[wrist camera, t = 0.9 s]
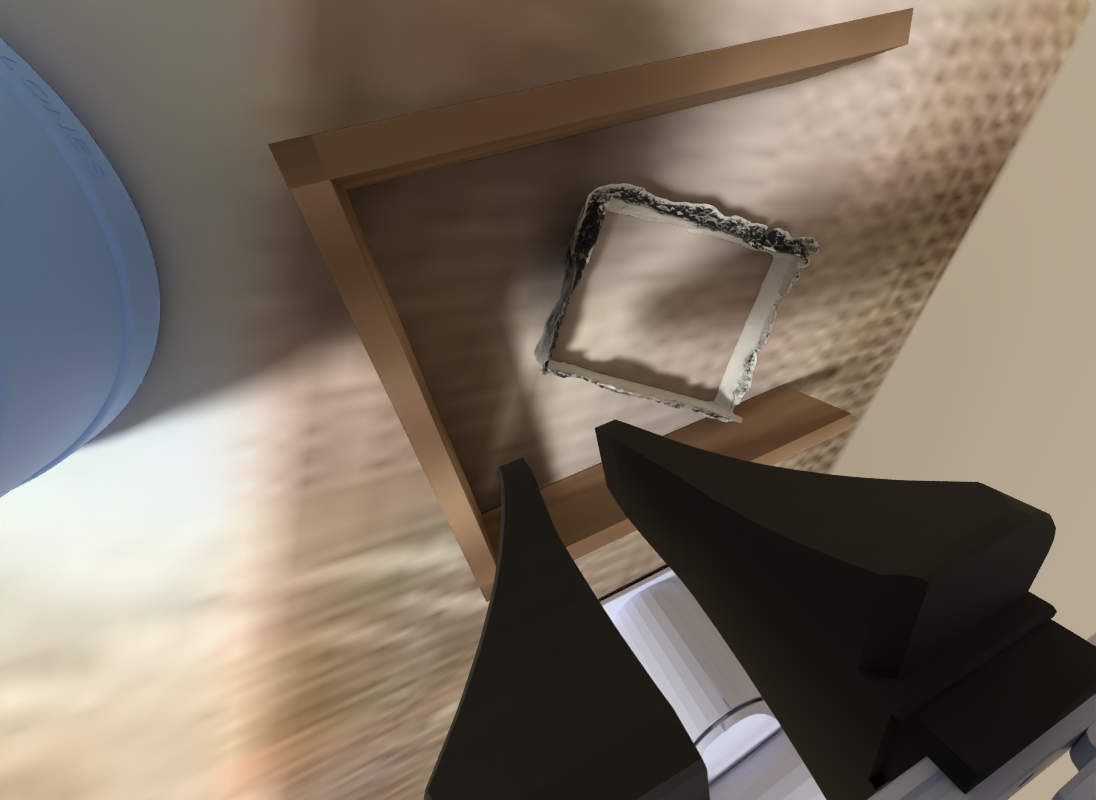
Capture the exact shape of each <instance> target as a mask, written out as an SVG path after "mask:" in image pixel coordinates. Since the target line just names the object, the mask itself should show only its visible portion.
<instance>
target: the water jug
mask: <svg viewBox="0 0 1096 800" xmlns="http://www.w3.org/2000/svg"><path fill="white" fill-rule="evenodd" d="M159 324H160V291H159V283H158V276H157V271H156V266H155V261H154V257H153V254H152V250H151V247H150V244H149V241H148V238H147V235H146V232H145V229H144V227H143V224H142V222H141V220H140V217H139V215H138V213H137V211H136V208H135V206H134V204H133V202H132V200H131V198H130V196H129V194H128V193H127V191H126V189H125V187H124V185H123V183H122V182H121V180H120V178H119V177H118V175H117V173H116V172H115V170H114V168H113V167H112V165H111V164H110V162H109V161H108V159H107V158H106V156H105V155H104V153H103V152H102V150H101V149H100V147H99V146H98V145H97V143H96V142H95V140H94V139H93V138H92V136H91V135H90V134H89V132H88V131H87V130H86V129H85V127H84V126H83V125H82V123H81V122H80V121H79V120H78V118H77V117H76V116H75V115H74V114H73V112H72V111H71V110H70V109H69V108H68V106H67V105H66V104H65V103H64V102H63V101H62V100H61V98H60V97H59V96H58V95H57V94H56V93H55V92H54V91H53V90H52V88H51V87H50V86H49V85H48V84H47V83H46V82H45V81H44V80H43V79H42V78H41V77H40V76H39V75H38V74H37V73H36V72H35V71H34V70H33V69H32V68H31V67H30V66H29V65H28V64H27V63H26V62H25V61H24V60H23V59H22V58H21V57H20V56H19V55H18V54H17V53H16V52H15V51H14V50H13V49H12V48H11V47H10V46H9V45H8V44H7V43H5V42H4V41H3V40H2V39H1V38H0V498H1V497H2V496H3V495H5V494H6V493H8V492H9V491H10V490H12V489H14V488H16V487H18V486H20V485H22V484H24V483H26V482H28V481H30V480H32V479H34V478H36V477H38V476H39V475H41V474H43V473H44V472H46V471H48V470H49V469H51V468H52V467H54V466H55V465H57V464H58V463H60V462H61V461H62V460H64V459H65V458H66V457H68V456H69V455H71V454H72V453H73V452H75V451H76V450H77V449H79V448H80V447H82V446H83V445H84V444H86V443H87V442H88V441H90V440H91V439H92V438H94V437H95V436H96V435H97V434H99V433H100V432H101V431H102V430H103V429H105V428H106V427H107V426H108V425H109V424H110V423H111V422H112V421H113V420H114V419H115V418H116V417H117V416H118V415H119V414H120V412H121V411H122V410H123V409H124V408H125V407H126V405H127V404H128V403H129V401H130V400H131V399H132V397H133V396H134V394H135V393H136V391H137V390H138V388H139V386H140V385H141V383H142V381H143V379H144V377H145V375H146V373H147V371H148V368H149V366H150V363H151V360H152V357H153V354H154V351H155V347H156V343H157V338H158V332H159Z"/></svg>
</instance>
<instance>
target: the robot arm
mask: <svg viewBox="0 0 1096 800" xmlns="http://www.w3.org/2000/svg"><path fill="white" fill-rule="evenodd" d="M595 432H596V436H597V441H598V446H599V451H600V456H601V460H602V465H603V470H604V475H605V480H606V485H607V488H608V489H609V491H610V492H611V494H612V495H613V497H614V499H615V500H616V502H617V503H618V505H619V506H620V508H621V509H622V511H623V512H624V514H625V515H626V517H627V518H628V519H629V520H630V521H631V523H632V524H633V525H634V526H635V527H636V529H637V530H638V531H639V532H640V533H641V535H642V536H643V537H644V538H645V539H646V540H647V542H648V543H649V544H650V545H651V546H652V547H653V549H654V550H655V551H656V552H657V553H658V554H659V556H660V557H661V558H662V559H663V560H664V561H665V563H666V564H667V565H668V566H669V567H667V568H665V569H663V570H661V571H660V572H658V573H656V574H654V575H652V576H650V577H648V578H646V579H644V580H642V581H640V582H638V583H636V584H634V585H632V586H630V587H628V588H626V589H624V590H622V591H620V592H618V593H616V594H614V595H612V596H610V597H608V598H606V599H604V600H602V601H600V602H599V600H598V599H597V597H596V596H595V594H594V593H593V591H592V589H591V588H590V586H589V585H588V583H587V581H586V580H585V578H584V577H583V575H582V573H581V572H580V570H579V569H578V567H577V565H576V564H575V562H574V560H573V559H572V557H571V555H570V554H569V552H568V550H567V549H566V547H565V545H564V544H563V542H562V540H561V539H560V537H559V535H558V533H557V531H556V529H555V527H554V525H553V522H552V520H551V517H550V515H549V512H548V510H547V508H546V505H545V503H544V500H543V498H542V495H541V493H540V490H539V488H538V485H537V483H536V480H535V478H534V475H533V473H532V471H531V469H530V468H529V466H528V465H527V463H526V462H525V461H524V459H523V458H520V459H518V460H515V461H513V462H511V463H508V464H506V465H503V466H501V467H499V469H498V471H497V474H498V477H499V482H500V490H501V529H500V540H499V549H498V558H497V565H496V572H495V578H494V583H493V588H492V593H491V598H490V603H489V607H488V611H487V615H486V619H485V623H484V627H483V631H482V635H481V638H480V642H479V645H478V649H477V652H476V655H475V658H474V661H473V664H472V667H471V670H470V673H469V676H468V679H467V682H466V685H465V689H464V692H463V695H462V698H461V701H460V703H459V706H458V709H457V712H456V714H455V717H454V720H453V722H452V725H451V727H450V730H449V732H448V735H447V737H446V740H445V742H444V745H443V747H442V750H441V752H440V755H439V757H438V760H437V762H436V765H435V767H434V770H433V772H432V775H431V777H430V780H429V782H428V784H427V787H426V790H425V795H424V800H1008V799H1009V798H1010V797H1011V796H1013V795H1014V794H1015V793H1016V792H1018V791H1019V790H1020V789H1021V788H1023V787H1024V786H1025V785H1026V784H1028V783H1029V782H1030V781H1031V780H1032V779H1034V778H1035V777H1036V776H1038V775H1039V774H1040V773H1041V772H1043V771H1044V770H1045V769H1046V768H1047V767H1049V766H1050V765H1051V764H1052V763H1054V762H1055V761H1056V760H1057V759H1059V758H1060V757H1061V756H1062V755H1063V754H1065V753H1066V752H1067V751H1069V750H1070V749H1071V750H1070V752H1069V753H1070V757H1071V760H1072V762H1073V763H1074V765H1075V766H1076V768H1077V769H1078V771H1079V772H1078V774H1076V775H1075V776H1074V777H1073V778H1072V779H1071V780H1070V781H1068V782H1067V783H1066V784H1065V785H1064V786H1063V787H1062V788H1061V789H1060V790H1059V791H1058V792H1057V793H1056V794H1055V796H1054V797H1053V798H1052V800H1096V633H1095V634H1094V635H1093V636H1091V637H1090V638H1088V639H1087V640H1084V639H1083V638H1081V637H1080V636H1078V635H1076V634H1074V633H1073V632H1071V631H1070V630H1068V629H1066V628H1065V627H1063V626H1061V625H1060V624H1058V623H1056V622H1055V621H1053V620H1051V618H1052V617H1054V615H1055V614H1056V612H1057V611H1056V609H1055V608H1054V607H1053V606H1052V605H1051V604H1049V603H1048V602H1046V601H1044V600H1042V599H1041V598H1039V597H1037V596H1036V595H1034V594H1032V593H1030V592H1029V591H1028V590H1029V588H1030V587H1031V585H1032V583H1033V581H1034V579H1035V577H1036V575H1037V573H1038V571H1039V569H1040V567H1041V566H1042V564H1043V562H1044V560H1045V558H1046V556H1047V554H1048V552H1049V550H1050V547H1051V545H1052V543H1053V540H1054V536H1055V530H1056V527H1055V525H1054V522H1053V520H1052V518H1051V516H1050V514H1048V513H1046V512H1043V511H1041V510H1039V509H1037V508H1035V507H1033V506H1031V505H1028V504H1026V503H1024V502H1022V501H1020V500H1017V499H1015V498H1013V497H1011V496H1009V495H1006V494H1004V493H1002V492H1000V491H998V490H995V489H993V488H991V487H989V486H986V485H984V484H982V483H979V482H951V481H950V482H949V481H907V480H905V481H904V480H888V479H874V478H861V477H849V476H839V475H830V474H822V473H815V472H807V471H800V470H793V469H787V468H781V467H775V466H770V465H765V464H760V463H755V462H750V461H745V460H741V459H737V458H732V457H728V456H725V455H721V454H717V453H714V452H710V451H707V450H703V449H700V448H696V447H693V446H690V445H687V444H684V443H681V442H678V441H675V440H672V439H669V438H666V437H663V436H660V435H657V434H654V433H652V432H649V431H646V430H643V429H641V428H638V427H635V426H632V425H630V424H627V423H624V422H621V421H618V420H613V421H611V422H608V423H606V424H604V425H601V426H599V427H596V428H595Z"/></svg>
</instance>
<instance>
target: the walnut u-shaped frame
mask: <svg viewBox="0 0 1096 800" xmlns="http://www.w3.org/2000/svg"><path fill="white" fill-rule="evenodd" d="M912 14H913V8H910V9H905V10H901V11H896V12H891V13H886V14H882V15H877V16H872V17H867V18H863V19H858V20H853V21H849V22H844V23H839V24H834V25H830V26H825V27H820V28H815V29H811V30H806V31H801V32H796V33H792V34H787V35H782V36H778V37H773V38H768V39H763V40H759V41H754V42H749V43H744V44H740V45H735V46H730V47H725V48H721V49H716V50H711V51H706V52H702V53H697V54H692V55H688V56H683V57H678V58H673V59H669V60H664V61H659V62H654V63H650V64H645V65H640V66H635V67H631V68H626V69H621V70H617V71H612V72H607V73H602V74H598V75H593V76H588V77H583V78H579V79H574V80H569V81H564V82H560V83H555V84H550V85H545V86H541V87H536V88H531V89H527V90H522V91H517V92H512V93H508V94H503V95H498V96H493V97H489V98H484V99H479V100H474V101H470V102H465V103H460V104H456V105H451V106H446V107H441V108H437V109H432V110H427V111H422V112H418V113H413V114H408V115H403V116H399V117H394V118H389V119H385V120H380V121H375V122H370V123H366V124H361V125H356V126H351V127H347V128H342V129H337V130H332V131H328V132H323V133H318V134H313V135H309V136H304V137H299V138H295V139H290V140H285V141H280V142H276V143H271V144H268V145H269V147H270V149H271V151H272V153H273V155H274V158H275V160H276V162H277V164H278V166H279V168H280V170H281V172H282V174H283V176H284V179H285V181H286V183H287V185H288V187H289V189H290V191H291V193H292V195H293V197H294V199H295V202H296V204H297V206H298V208H299V210H300V212H301V214H302V216H303V218H304V220H305V223H306V225H307V227H308V229H309V231H310V233H311V235H312V237H313V239H314V241H315V243H316V246H317V248H318V250H319V252H320V254H321V256H322V258H323V260H324V262H325V264H326V267H327V269H328V271H329V273H330V275H331V277H332V279H333V281H334V283H335V285H336V288H337V290H338V292H339V294H340V296H341V298H342V300H343V302H344V304H345V306H346V308H347V311H348V313H349V315H350V317H351V319H352V321H353V323H354V325H355V327H356V329H357V332H358V334H359V336H360V338H361V340H362V342H363V344H364V346H365V348H366V350H367V352H368V355H369V357H370V359H371V361H372V363H373V365H374V367H375V369H376V371H377V373H378V376H379V378H380V380H381V382H382V384H383V386H384V388H385V390H386V392H387V394H388V396H389V399H390V401H391V403H392V405H393V407H394V409H395V411H396V413H397V415H398V417H399V420H400V422H401V424H402V426H403V428H404V430H405V432H406V434H407V436H408V438H409V440H410V443H411V445H412V447H413V449H414V451H415V453H416V455H417V457H418V459H419V461H420V464H421V466H422V468H423V470H424V472H425V474H426V476H427V478H428V480H429V482H430V484H431V487H432V489H433V491H434V493H435V495H436V497H437V499H438V501H439V503H440V505H441V508H442V510H443V512H444V514H445V516H446V518H447V520H448V522H449V524H450V526H451V528H452V531H453V533H454V535H455V537H456V539H457V541H458V543H459V545H460V547H461V549H462V552H463V554H464V556H465V558H466V560H467V562H468V564H469V566H470V568H471V570H472V572H473V575H474V577H475V579H476V581H477V583H478V585H479V587H480V589H481V591H482V593H483V596H484V598H485V600H486V602H487V601H489V600H490V598H491V593H492V588H493V583H494V578H495V572H496V565H497V558H498V549H499V540H500V529H501V506H500V507H498V508H496V509H493V510H491V511H489V512H486V513H484V514H482V515H481V512H480V510H479V507H478V505H477V503H476V500H475V498H474V495H473V493H472V491H471V488H470V486H469V483H468V481H467V479H466V476H465V474H464V471H463V469H462V467H461V464H460V462H459V460H458V457H457V455H456V452H455V450H454V448H453V445H452V443H451V440H450V438H449V436H448V433H447V431H446V428H445V426H444V424H443V421H442V419H441V416H440V414H439V412H438V409H437V407H436V405H435V402H434V400H433V397H432V395H431V393H430V390H429V388H428V385H427V383H426V381H425V378H424V376H423V373H422V371H421V369H420V366H419V364H418V361H417V359H416V357H415V354H414V352H413V350H412V347H411V345H410V342H409V340H408V338H407V335H406V333H405V330H404V328H403V326H402V323H401V321H400V318H399V316H398V314H397V311H396V309H395V307H394V304H393V302H392V299H391V297H390V295H389V292H388V290H387V287H386V285H385V283H384V280H383V278H382V275H381V273H380V271H379V268H378V266H377V263H376V261H375V259H374V256H373V254H372V252H371V249H370V247H369V244H368V242H367V240H366V237H365V235H364V232H363V230H362V228H361V225H360V223H359V220H358V218H357V216H356V213H355V211H354V208H353V206H352V204H351V201H350V199H349V197H348V194H347V192H346V191H348V190H352V189H356V188H360V187H364V186H368V185H372V184H377V183H381V182H385V181H389V180H393V179H397V178H401V177H405V176H410V175H414V174H418V173H422V172H426V171H430V170H434V169H438V168H443V167H447V166H451V165H455V164H459V163H463V162H467V161H471V160H476V159H480V158H484V157H488V156H492V155H496V154H500V153H505V152H509V151H513V150H517V149H521V148H525V147H529V146H533V145H538V144H542V143H546V142H550V141H554V140H558V139H562V138H566V137H571V136H575V135H579V134H583V133H587V132H591V131H595V130H599V129H604V128H608V127H612V126H616V125H620V124H624V123H628V122H632V121H637V120H641V119H645V118H649V117H653V116H657V115H661V114H665V113H670V112H674V111H678V110H682V109H686V108H690V107H694V106H698V105H703V104H707V103H711V102H715V101H719V100H723V99H727V98H732V97H736V96H740V95H744V94H748V93H752V92H756V91H760V90H765V89H769V88H773V87H777V86H781V85H785V84H789V83H793V82H798V81H801V80H804V79H807V78H810V77H813V76H816V75H819V74H821V73H824V72H827V71H830V70H833V69H836V68H839V67H842V66H845V65H848V64H851V63H854V62H857V61H859V60H862V59H865V58H868V57H871V56H874V55H877V54H880V53H883V52H886V51H889V50H892V49H894V48H897V47H900V46H903V45H906V44H908V40H909V33H910V27H911V20H912ZM733 413H734V414H735V415H737V416H740V417H742V419H743V420H742V422H741V423H739V422H735V421H730V422H723V421H720V420H718V419H714V418H708V417H707V418H705V419H703V420H700V421H698V422H696V423H693V424H691V425H689V426H686V427H684V428H682V429H679V430H677V431H675V432H672V433H670V434H668V435H665V436H663V437H666V438H669V439H672V440H675V441H678V442H681V443H684V444H687V445H690V446H693V447H696V448H700V449H703V450H707V451H710V452H714V453H717V454H721V455H725V456H728V457H732V458H737V459H741V460H745V461H750V462H755V463H760V464H765V465H770V466H772V465H774V464H776V463H779V462H781V461H783V460H785V459H787V458H789V457H791V456H793V455H795V454H797V453H799V452H802V451H804V450H806V449H808V448H810V447H812V446H814V445H816V444H818V443H820V442H823V441H825V440H827V439H829V438H831V437H833V436H835V435H837V434H839V433H841V432H843V431H846V430H848V429H849V427H850V421H851V413H849V412H846V411H844V410H841V409H839V408H837V407H834V406H832V405H829V404H827V403H825V402H822V401H820V400H818V399H815V398H813V397H810V396H808V395H806V394H803V393H801V392H798V391H796V390H794V389H791V388H789V387H786V386H784V385H782V386H779V387H777V388H775V389H772V390H770V391H768V392H765V393H763V394H761V395H758V396H756V397H754V398H751V399H749V400H747V401H745V402H742V403H740V404H738V405H735V407H734V409H733ZM540 493H541V495H542V498H543V500H544V503H545V505H546V508H547V510H548V512H549V515H550V517H551V520H552V522H553V525H554V527H555V529H556V531H557V533H558V535H559V537H560V539H561V540H562V542H563V544H564V545H565V547H566V549H567V550H568V552H569V554H570V555H571V557H572V559H573V560H575V559H577V558H579V557H582V556H584V555H586V554H588V553H590V552H592V551H594V550H596V549H598V548H600V547H603V546H605V545H607V544H609V543H611V542H613V541H615V540H617V539H619V538H621V537H623V536H626V535H628V534H630V533H632V532H634V531H636V530H637V529H636V527H635V526H634V525H633V524H632V523H631V521H630V520H629V519H628V518H627V517H626V515H625V514H624V512H623V511H622V509H621V508H620V506H619V505H618V503H617V502H616V500H615V499H614V497H613V495H612V494H611V492H610V491H609V489H608V488H607V485H606V480H605V475H604V470H603V465H602V463H600V464H598V465H596V466H593V467H591V468H589V469H586V470H584V471H582V472H579V473H577V474H575V475H572V476H570V477H568V478H565V479H563V480H561V481H559V482H556V483H554V484H552V485H549V486H547V487H545V488H542V489H540Z"/></svg>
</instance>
